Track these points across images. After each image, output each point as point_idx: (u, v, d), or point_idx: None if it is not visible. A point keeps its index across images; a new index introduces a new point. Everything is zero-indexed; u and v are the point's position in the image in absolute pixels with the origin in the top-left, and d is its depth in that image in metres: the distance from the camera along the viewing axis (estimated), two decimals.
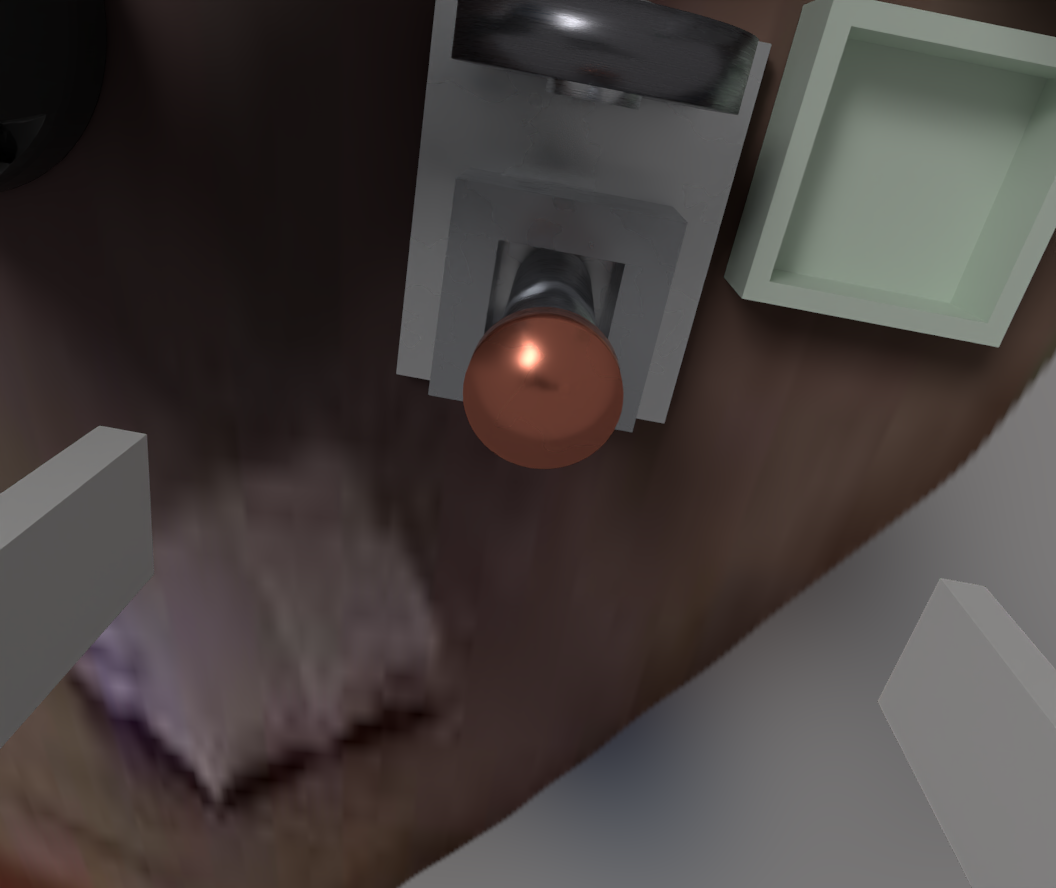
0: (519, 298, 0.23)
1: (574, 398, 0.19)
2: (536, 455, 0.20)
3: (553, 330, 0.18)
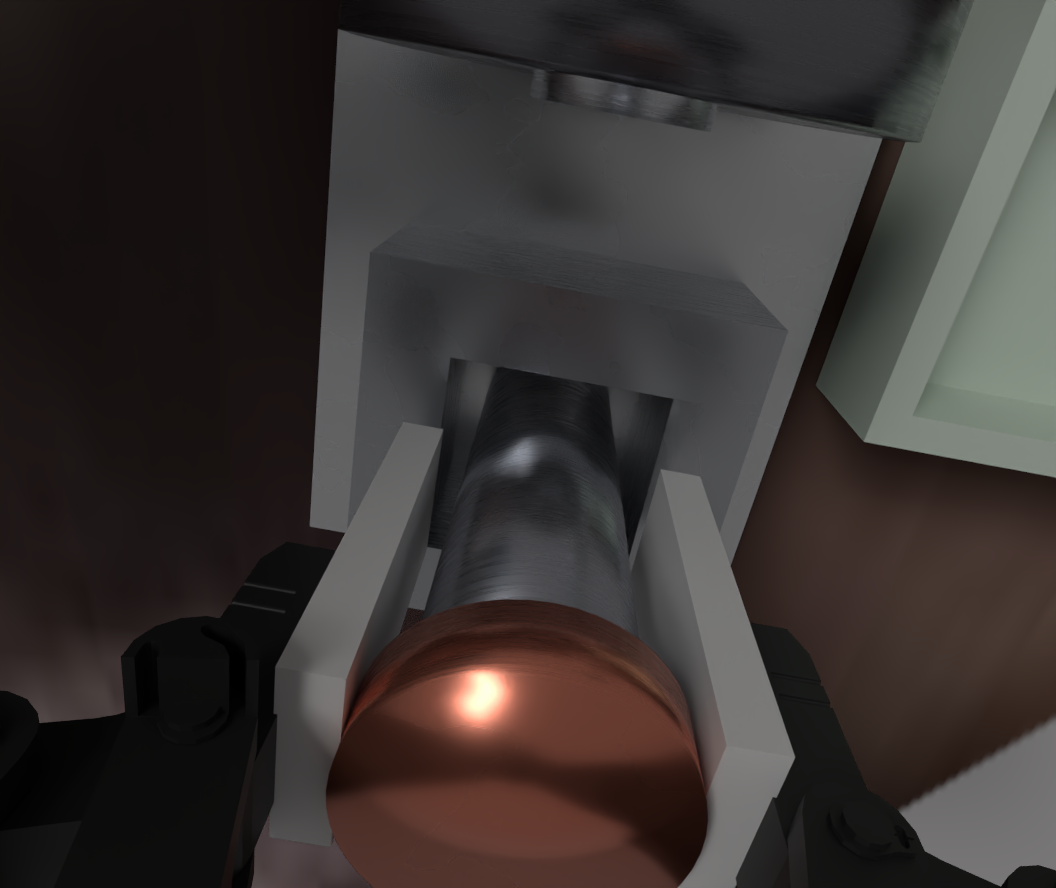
0: (480, 490, 0.12)
1: (590, 825, 0.08)
2: None
3: (538, 697, 0.07)
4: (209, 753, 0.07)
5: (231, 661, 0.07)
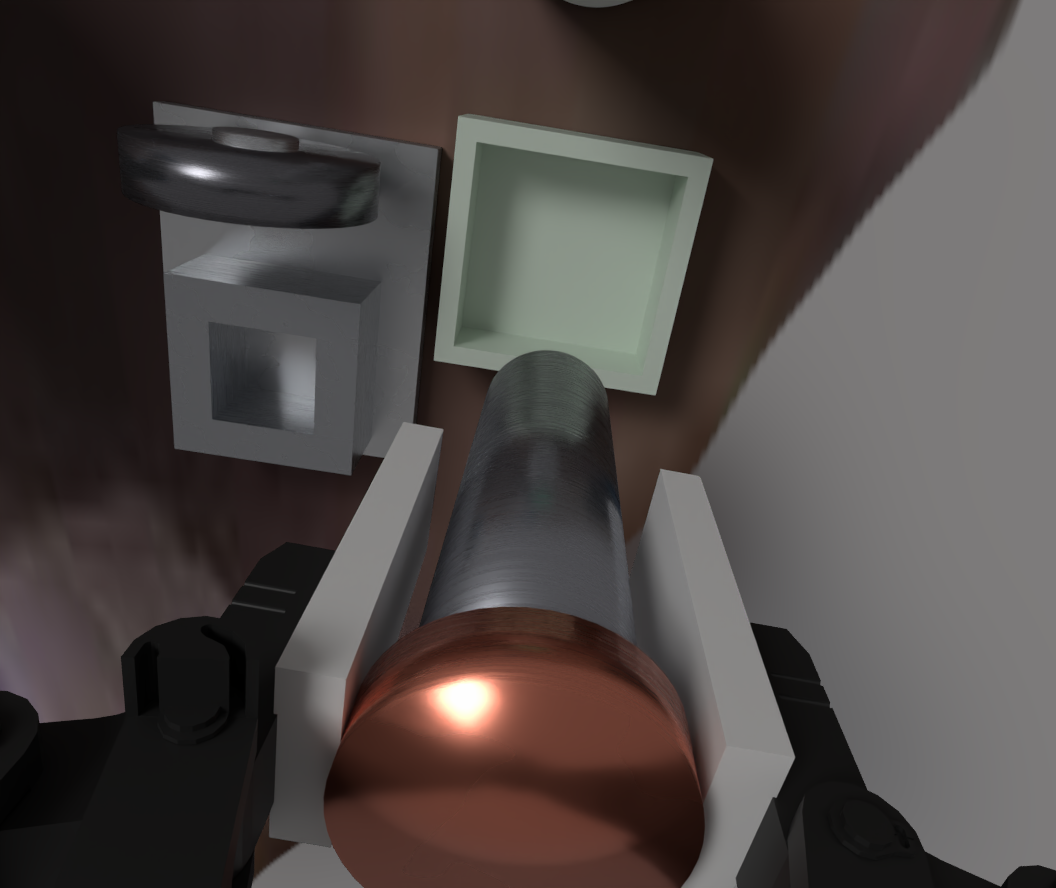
0: (479, 495, 0.12)
1: (587, 832, 0.08)
2: None
3: (535, 705, 0.07)
4: (209, 753, 0.07)
5: (231, 661, 0.07)
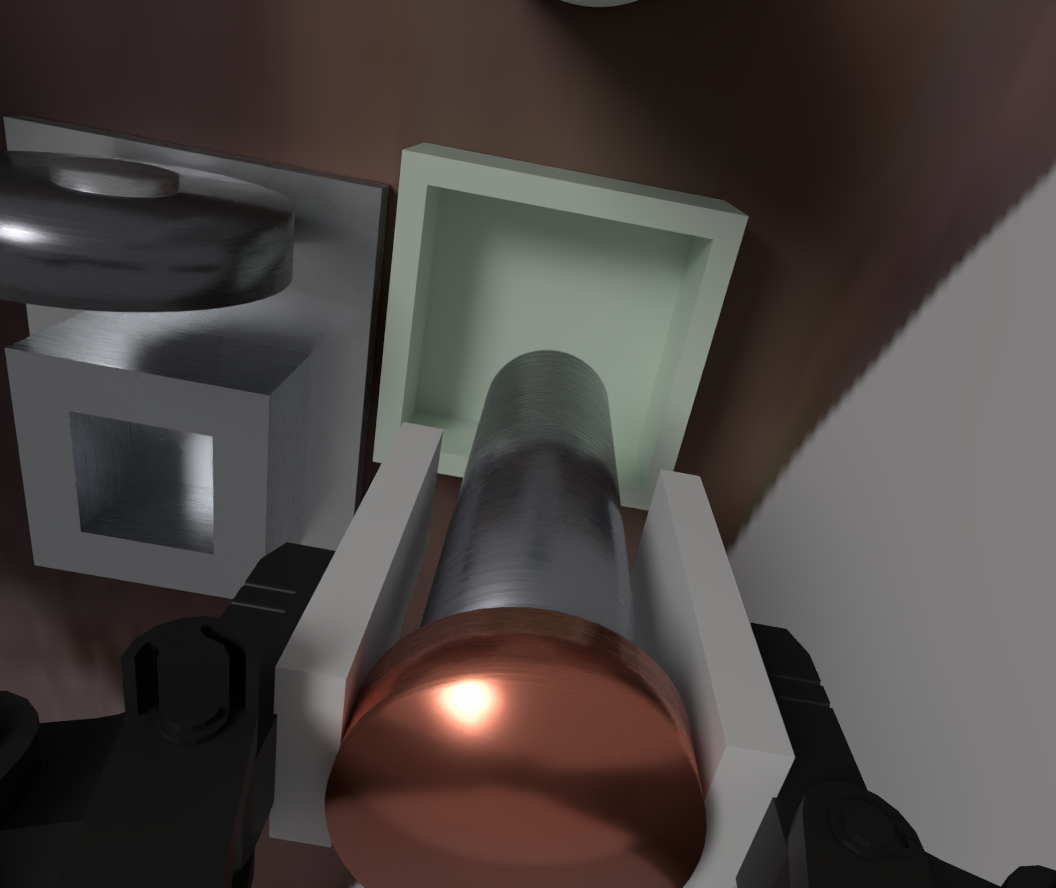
0: (479, 495, 0.12)
1: (588, 833, 0.08)
2: None
3: (537, 705, 0.07)
4: (209, 753, 0.07)
5: (231, 661, 0.07)
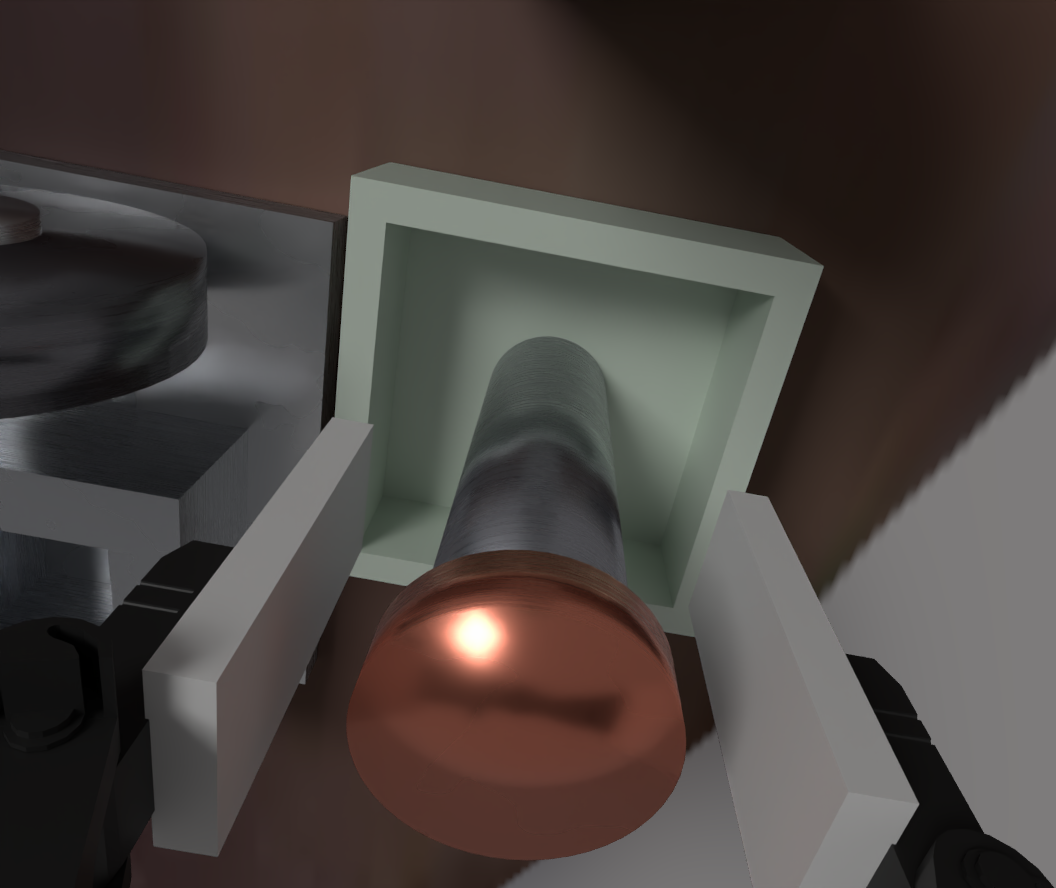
0: (483, 464, 0.13)
1: (581, 749, 0.09)
2: (504, 838, 0.10)
3: (535, 629, 0.08)
4: (62, 757, 0.07)
5: (85, 661, 0.07)
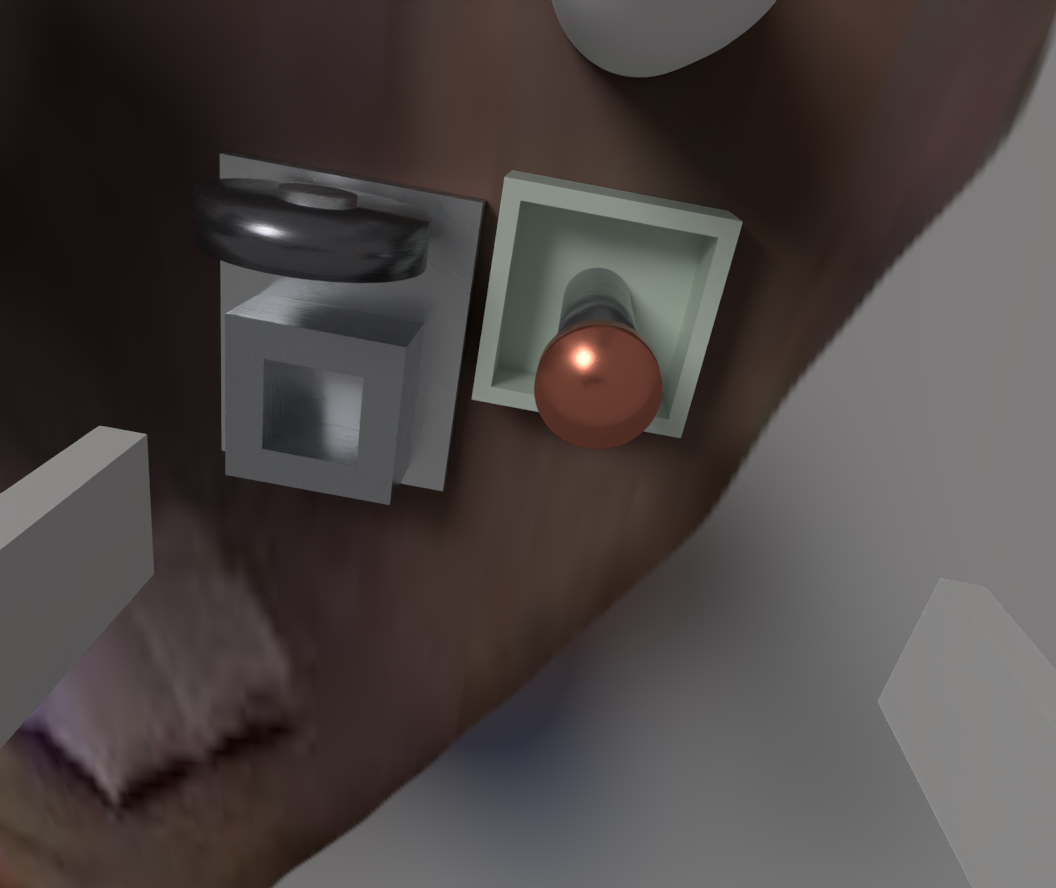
0: (574, 311, 0.28)
1: (623, 391, 0.24)
2: (591, 438, 0.25)
3: (607, 337, 0.23)
4: None
5: None
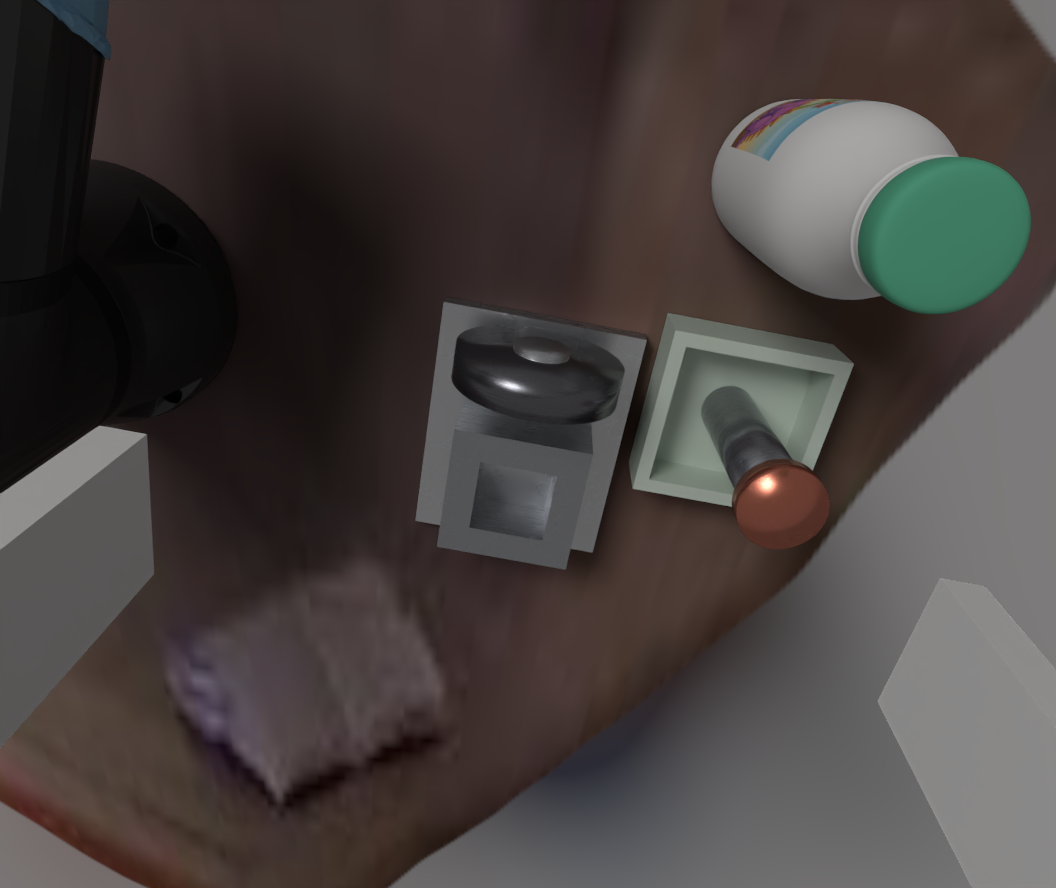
0: (740, 438, 0.38)
1: (801, 511, 0.34)
2: (775, 541, 0.35)
3: (794, 476, 0.33)
4: None
5: None
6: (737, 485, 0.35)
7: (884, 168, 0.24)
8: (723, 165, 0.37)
